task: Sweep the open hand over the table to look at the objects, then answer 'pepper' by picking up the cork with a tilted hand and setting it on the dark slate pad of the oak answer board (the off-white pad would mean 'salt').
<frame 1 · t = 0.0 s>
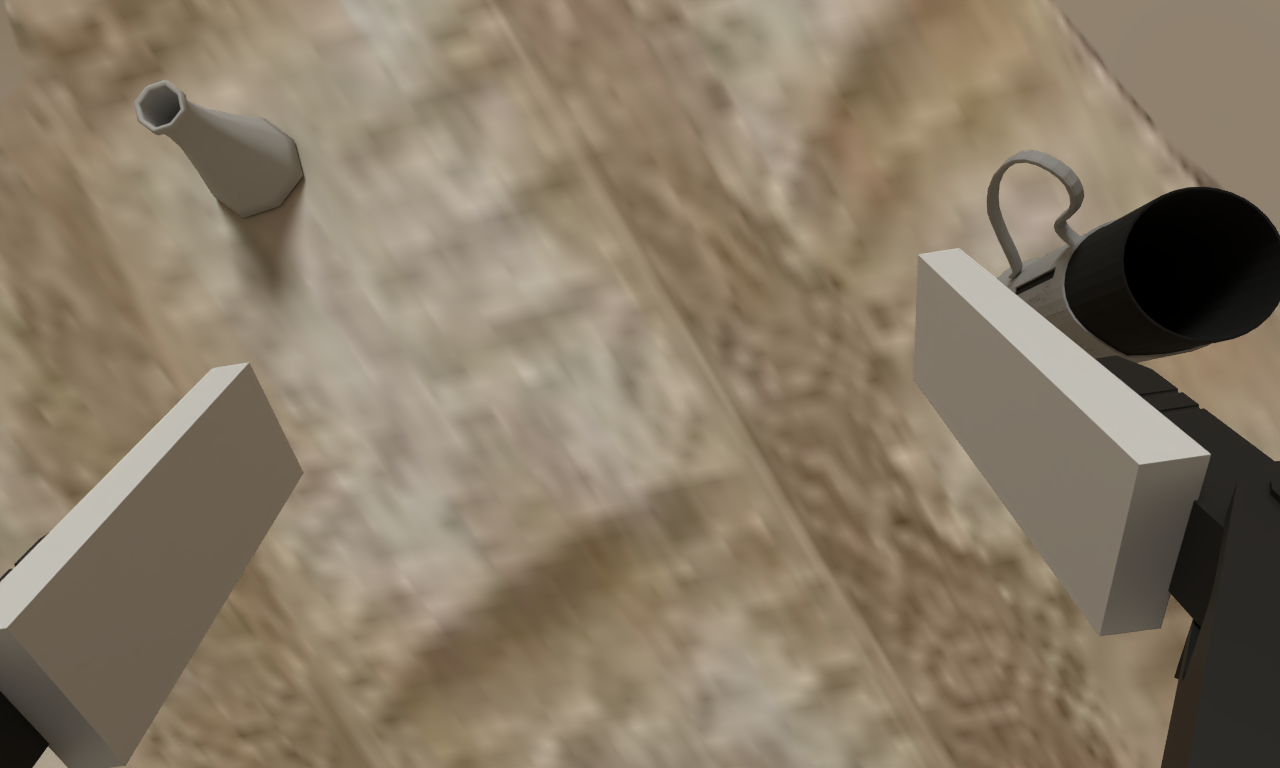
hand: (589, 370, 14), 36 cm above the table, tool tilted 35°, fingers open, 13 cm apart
flask: (257, 170, 54), on the table
glass holder: (1014, 295, 50), on the table
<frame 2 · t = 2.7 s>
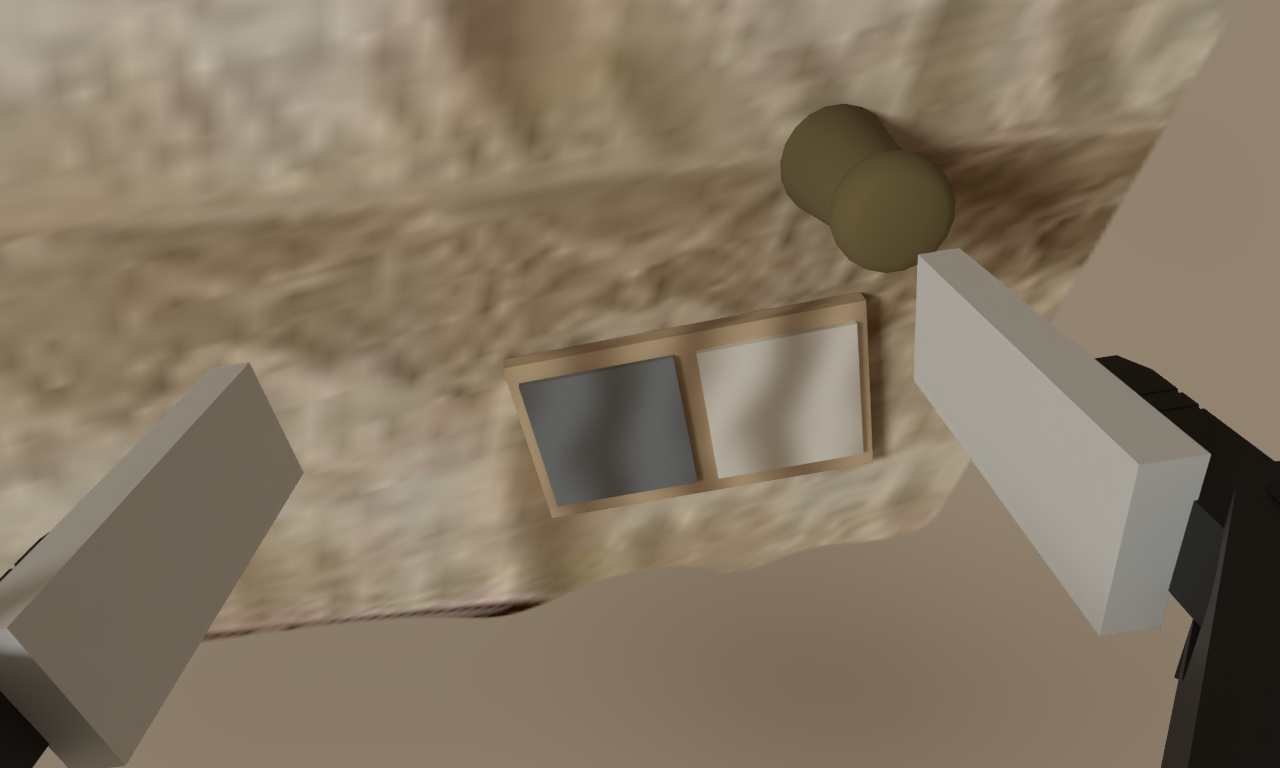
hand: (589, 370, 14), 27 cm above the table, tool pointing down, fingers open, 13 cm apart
answer board: (694, 408, 47), on the table
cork: (834, 161, 40), on the table
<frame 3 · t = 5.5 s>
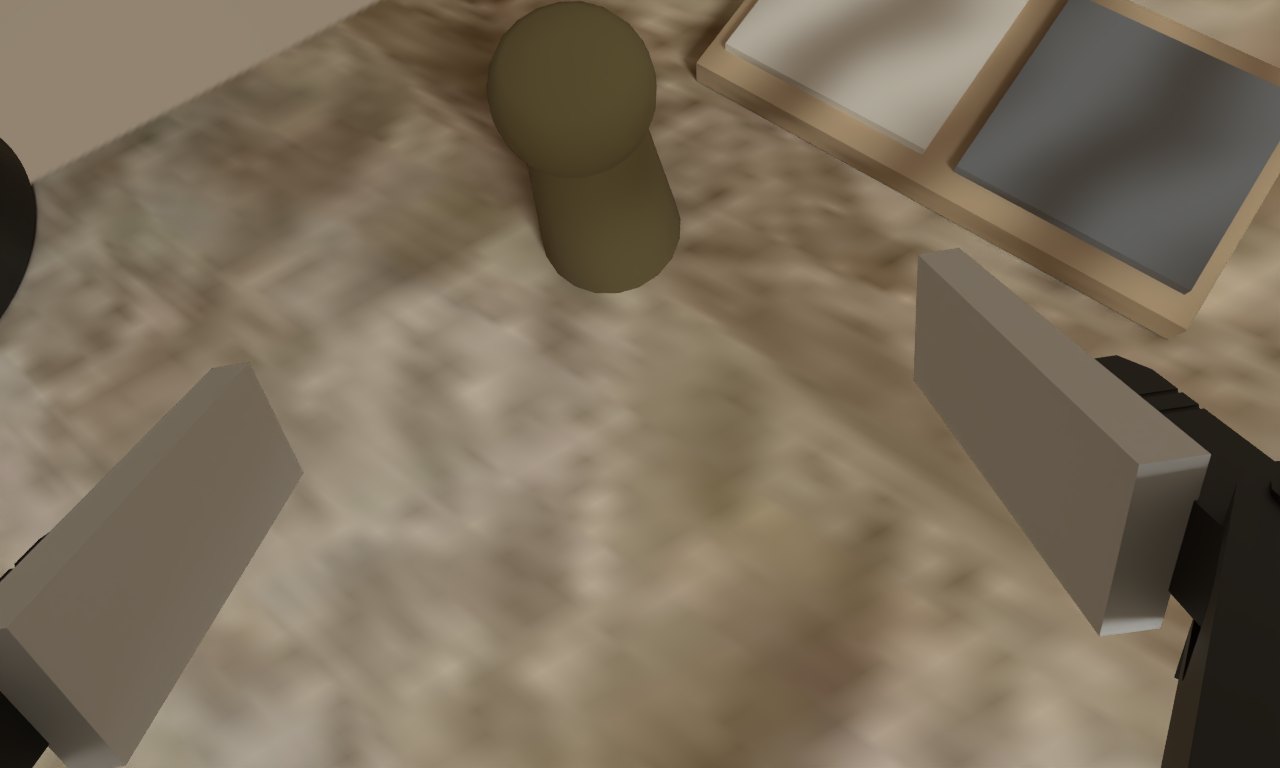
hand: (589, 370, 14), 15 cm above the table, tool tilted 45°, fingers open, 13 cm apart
answer board: (986, 94, 31), on the table
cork: (611, 230, 32), on the table
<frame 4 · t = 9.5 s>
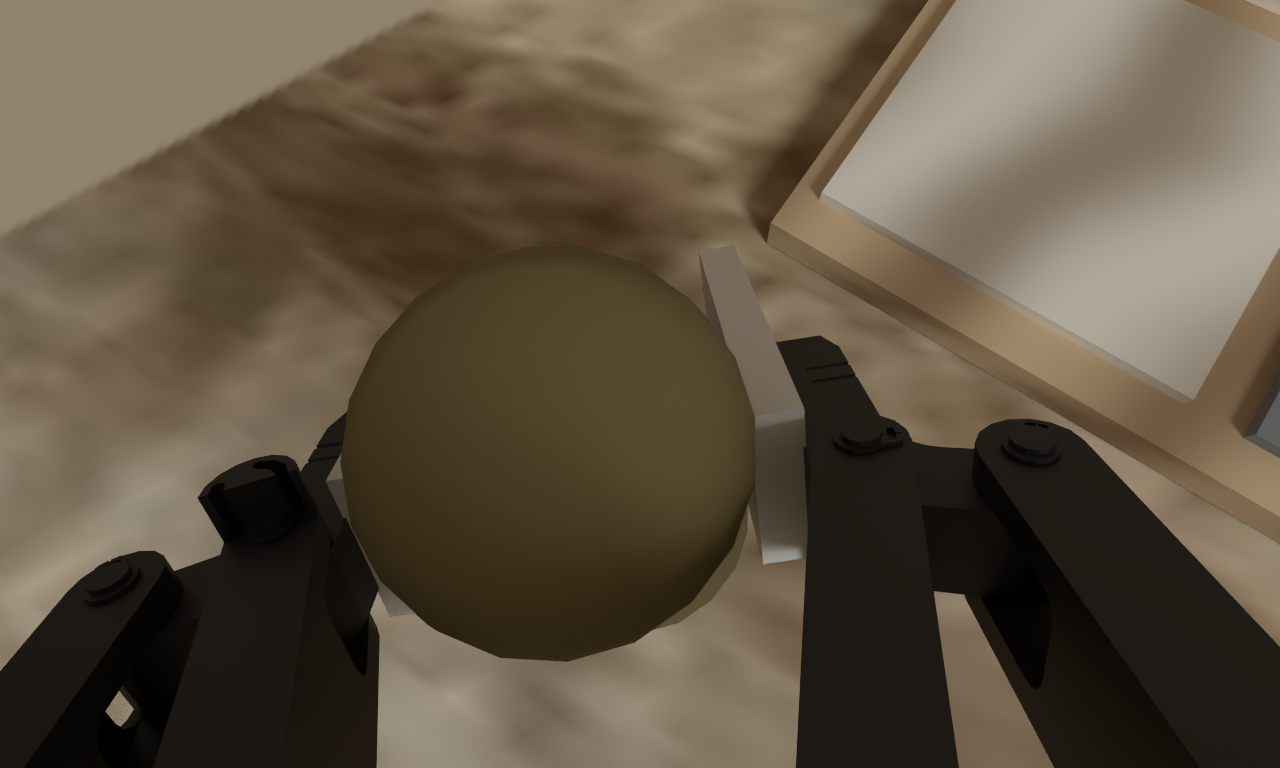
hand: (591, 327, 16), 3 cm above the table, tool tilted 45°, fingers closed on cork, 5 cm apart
answer board: (1266, 276, 18), on the table
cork: (629, 508, 19), on the table, touching gripper
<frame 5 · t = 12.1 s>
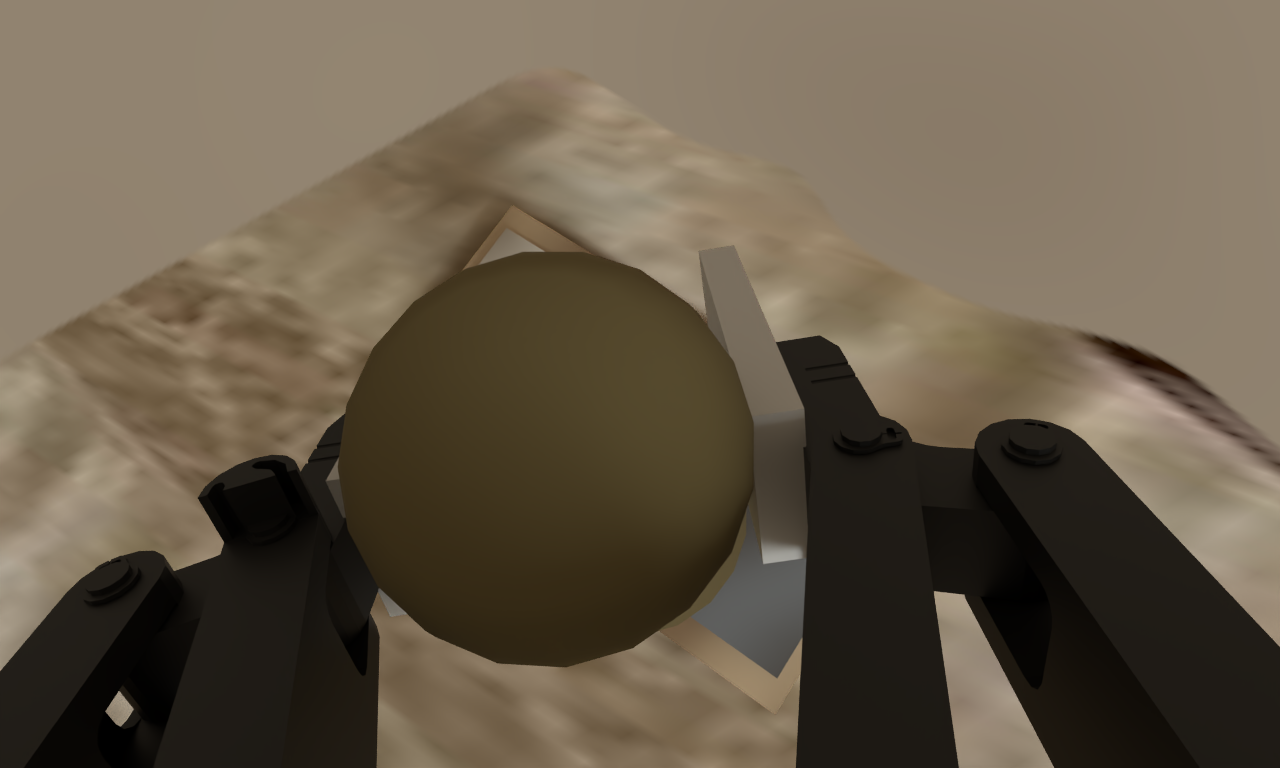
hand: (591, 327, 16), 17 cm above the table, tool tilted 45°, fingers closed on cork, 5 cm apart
answer board: (633, 439, 33), on the table
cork: (627, 510, 19), point 13 cm above the table, touching gripper
when the fingers open (6 cm above the table, at t = 14.7 s): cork drops 1 cm, resting on answer board.
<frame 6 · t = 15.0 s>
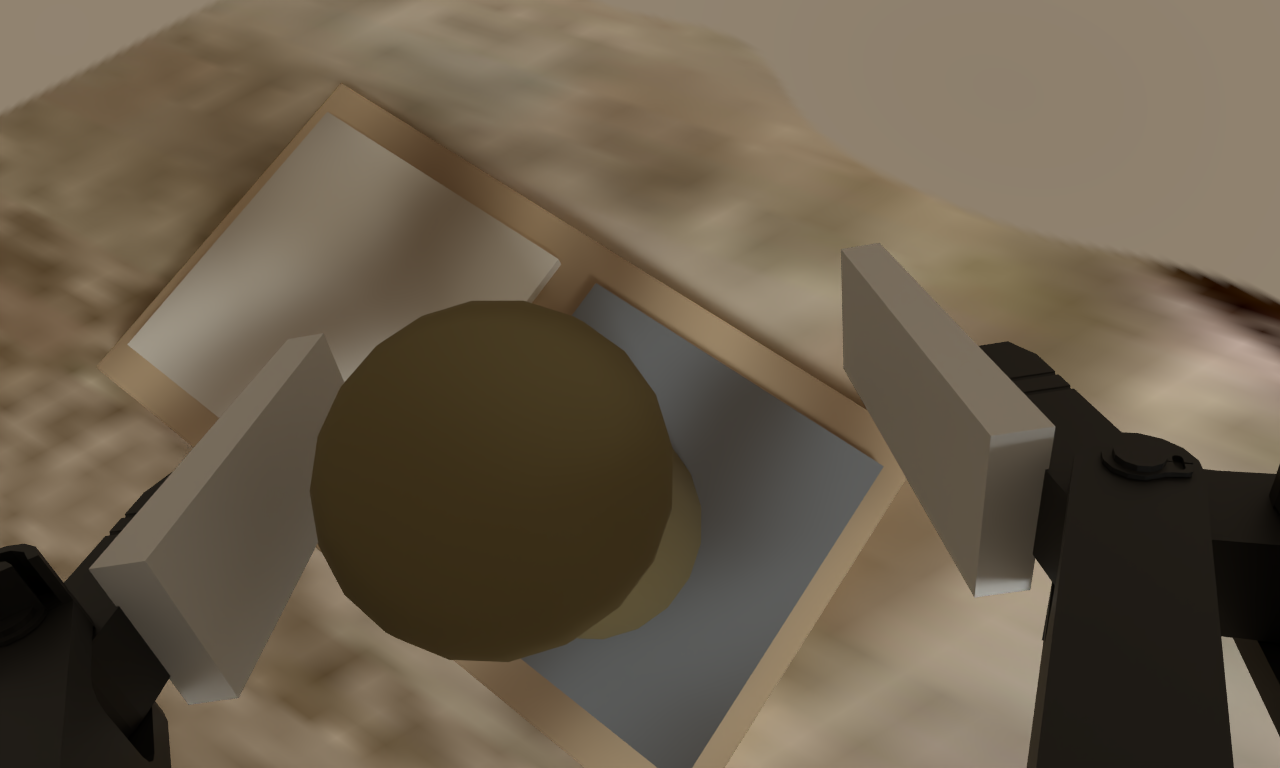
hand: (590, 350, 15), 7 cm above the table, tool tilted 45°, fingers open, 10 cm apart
answer board: (494, 412, 22), on the table
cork: (591, 522, 20), point 1 cm above the table, touching answer board
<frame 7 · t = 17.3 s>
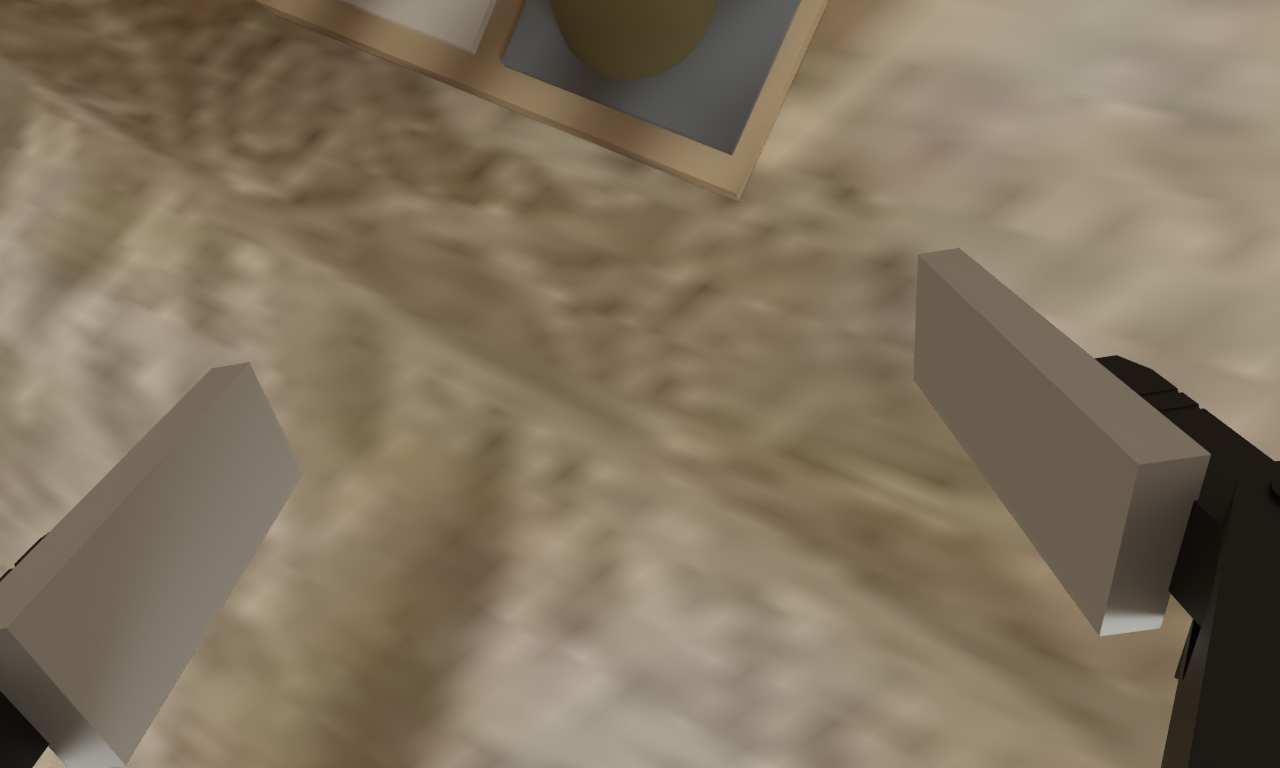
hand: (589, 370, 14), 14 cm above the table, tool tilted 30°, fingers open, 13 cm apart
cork: (636, 0, 27), point 1 cm above the table, touching answer board
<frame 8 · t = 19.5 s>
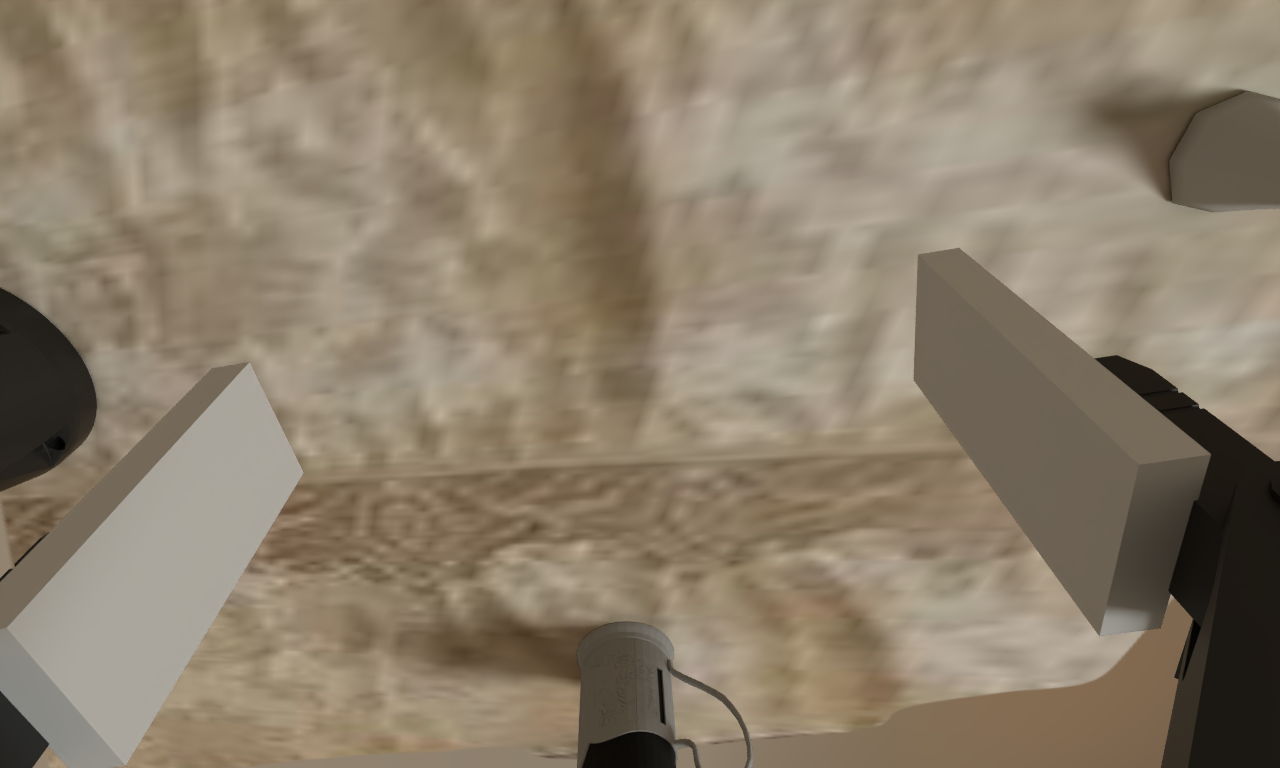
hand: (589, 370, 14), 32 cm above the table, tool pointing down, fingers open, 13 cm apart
flask: (1223, 152, 45), on the table
glass holder: (654, 646, 65), on the table
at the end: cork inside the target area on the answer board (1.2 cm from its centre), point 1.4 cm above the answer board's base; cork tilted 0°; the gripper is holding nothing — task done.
